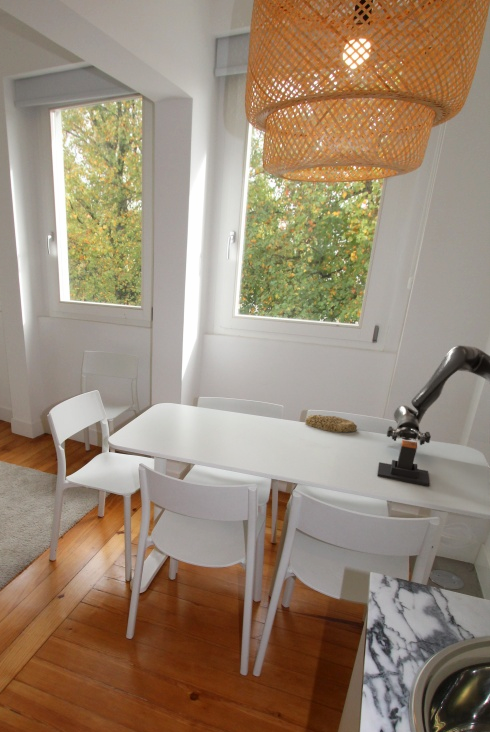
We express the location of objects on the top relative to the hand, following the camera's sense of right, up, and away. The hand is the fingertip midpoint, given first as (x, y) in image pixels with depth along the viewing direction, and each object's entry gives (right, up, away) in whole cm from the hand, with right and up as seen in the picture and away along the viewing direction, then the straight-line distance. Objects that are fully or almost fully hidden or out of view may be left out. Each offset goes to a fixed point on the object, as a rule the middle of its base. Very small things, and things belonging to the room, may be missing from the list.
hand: (408, 440), depth 170 cm
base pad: (-4, -12, -4) cm, 14 cm away
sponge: (-14, +5, +39) cm, 41 cm away
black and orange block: (-4, -11, -4) cm, 13 cm away
